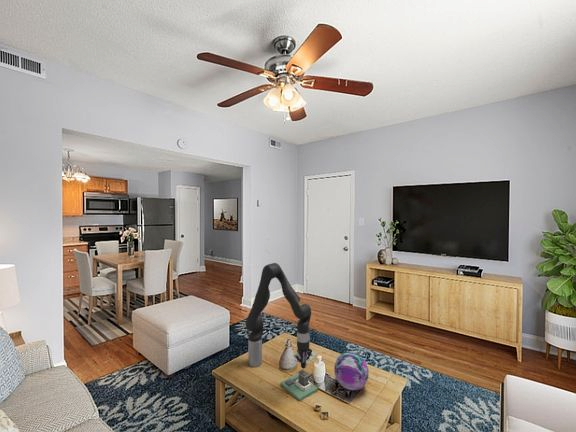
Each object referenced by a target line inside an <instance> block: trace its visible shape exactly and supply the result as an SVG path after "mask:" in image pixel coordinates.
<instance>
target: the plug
mask: <svg viewBox="0 0 576 432" xmlns="http://www.w3.org/2000/svg"><path fill="white" fill-rule="evenodd" d="M297 374H299V383H300V384H301V385H303V386H304V387H305V386H307V385H308V380H309V372H307V371H306V370H304V369H303V368H302V369H301V370H299V371H298V373H297Z"/></svg>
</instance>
